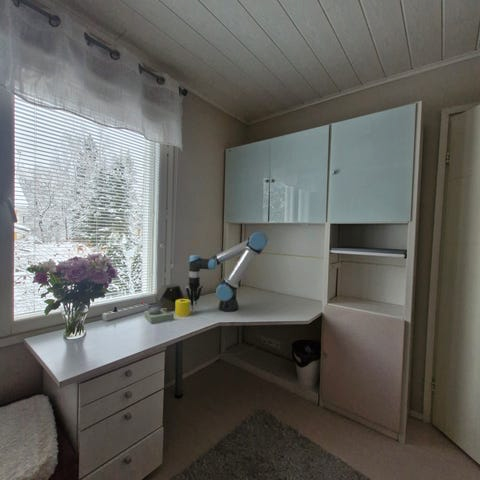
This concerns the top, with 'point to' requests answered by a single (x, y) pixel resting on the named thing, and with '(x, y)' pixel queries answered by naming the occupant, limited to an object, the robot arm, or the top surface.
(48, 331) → the top surface
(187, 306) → the yellow cylinder with hole
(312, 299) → the top surface
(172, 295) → the planter
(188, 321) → the top surface
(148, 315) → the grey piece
